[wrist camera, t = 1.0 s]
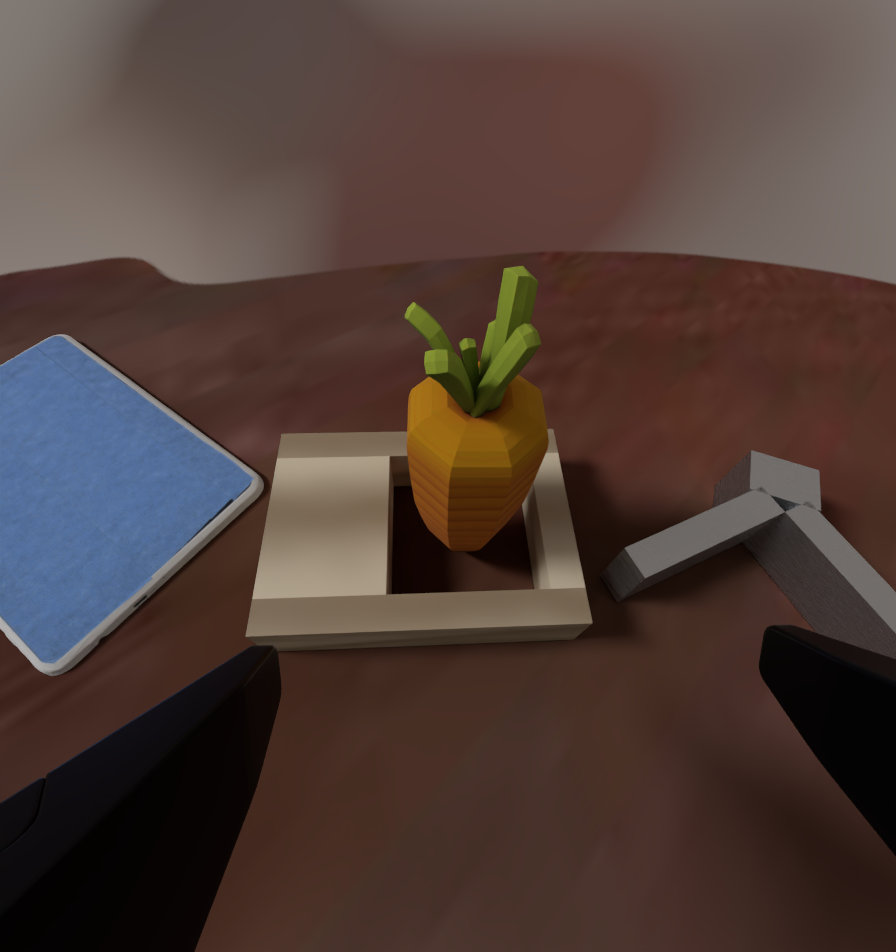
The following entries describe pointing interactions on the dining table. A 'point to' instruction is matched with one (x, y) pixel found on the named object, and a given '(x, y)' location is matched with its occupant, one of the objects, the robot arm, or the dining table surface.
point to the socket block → (370, 557)
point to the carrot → (477, 422)
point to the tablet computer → (97, 499)
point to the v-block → (774, 552)
